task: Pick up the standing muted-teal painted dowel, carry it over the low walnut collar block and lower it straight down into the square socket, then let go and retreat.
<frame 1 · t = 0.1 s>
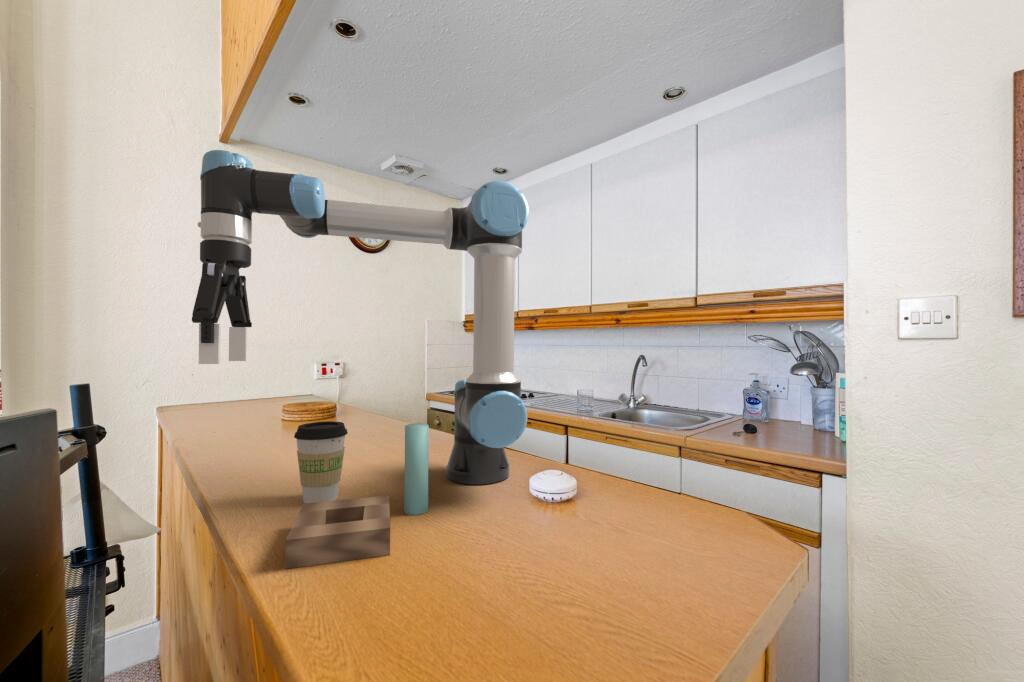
hand: (224, 362, 74), 28 cm above the worktop, fingers open, 13 cm apart
coffee cup: (320, 500, 84), on the worktop
peg: (416, 510, 79), on the worktop
socket block: (343, 539, 67), on the worktop
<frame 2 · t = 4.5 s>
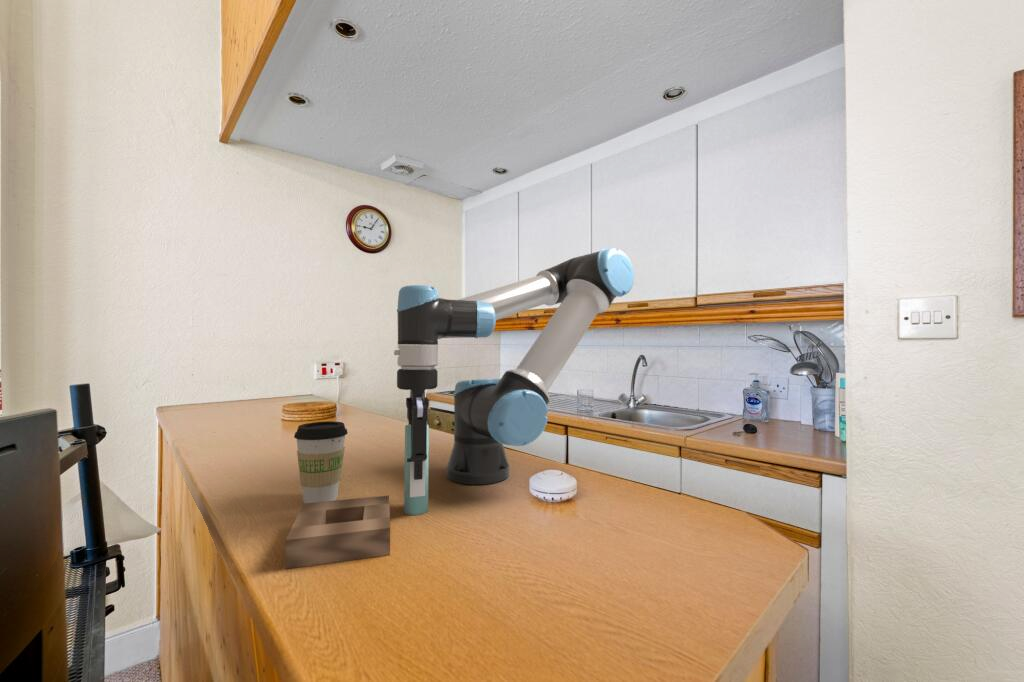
hand: (416, 490, 79), 4 cm above the worktop, fingers closed on peg, 4 cm apart
peg: (416, 510, 79), on the worktop, touching gripper
everything else where it was.
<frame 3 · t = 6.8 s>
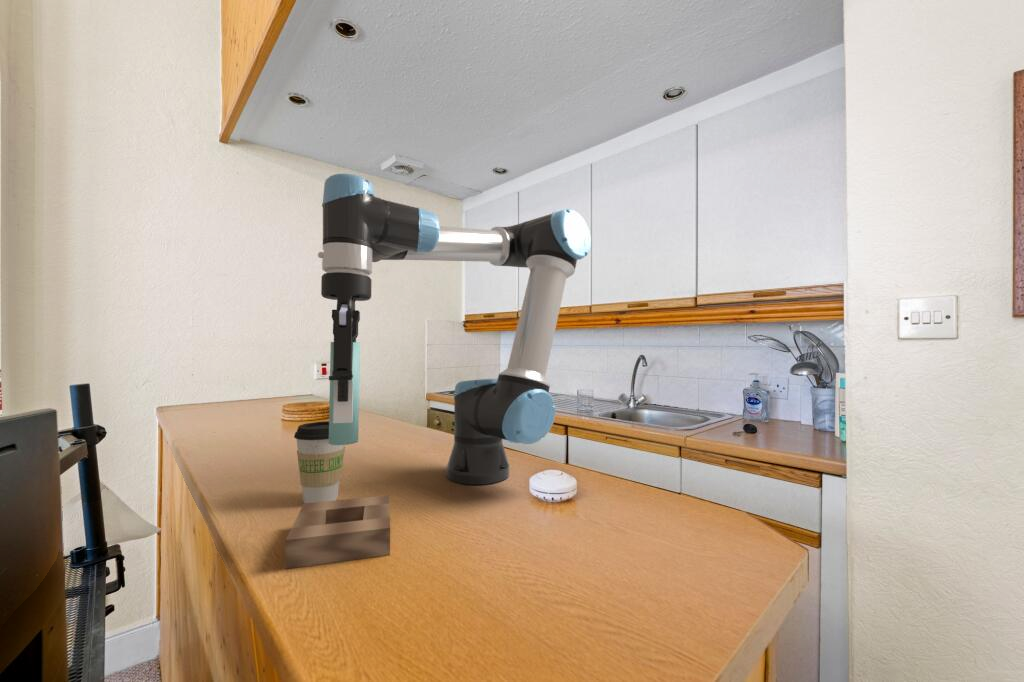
hand: (344, 419, 67), 19 cm above the worktop, fingers closed on peg, 4 cm apart
peg: (343, 442, 67), point 16 cm above the worktop, touching gripper
everything else where it was.
when the fingers open (6 cm above the worktop, at t = 9.2 s): peg drops 2 cm, resting in socket block.
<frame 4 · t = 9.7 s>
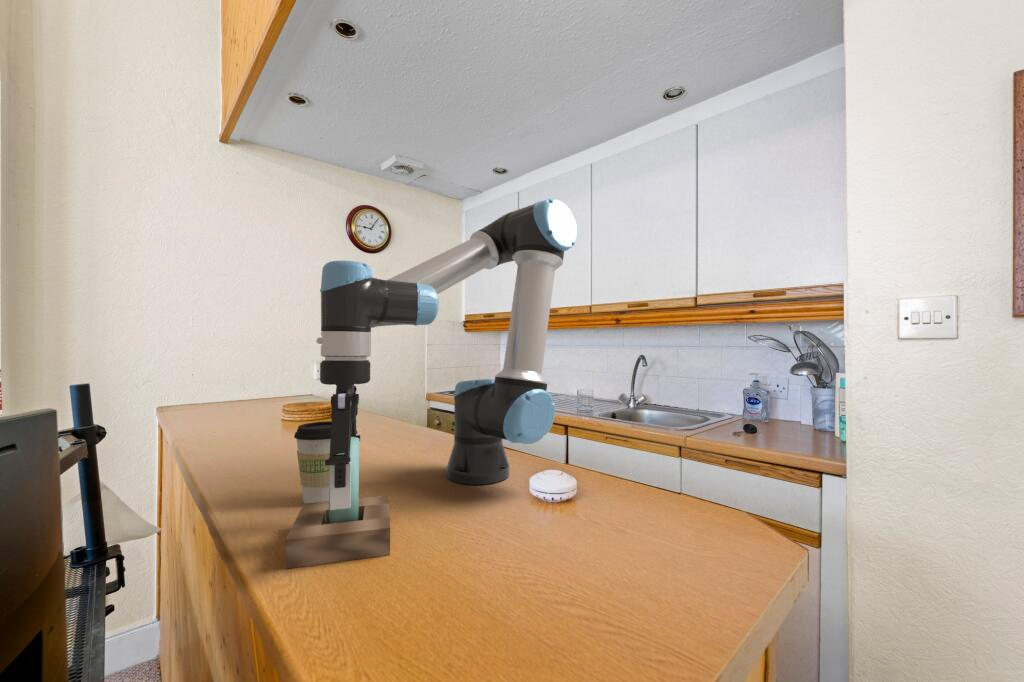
hand: (344, 493, 67), 7 cm above the worktop, fingers open, 12 cm apart
peg: (343, 540, 67), resting in socket block
everything else where it was.
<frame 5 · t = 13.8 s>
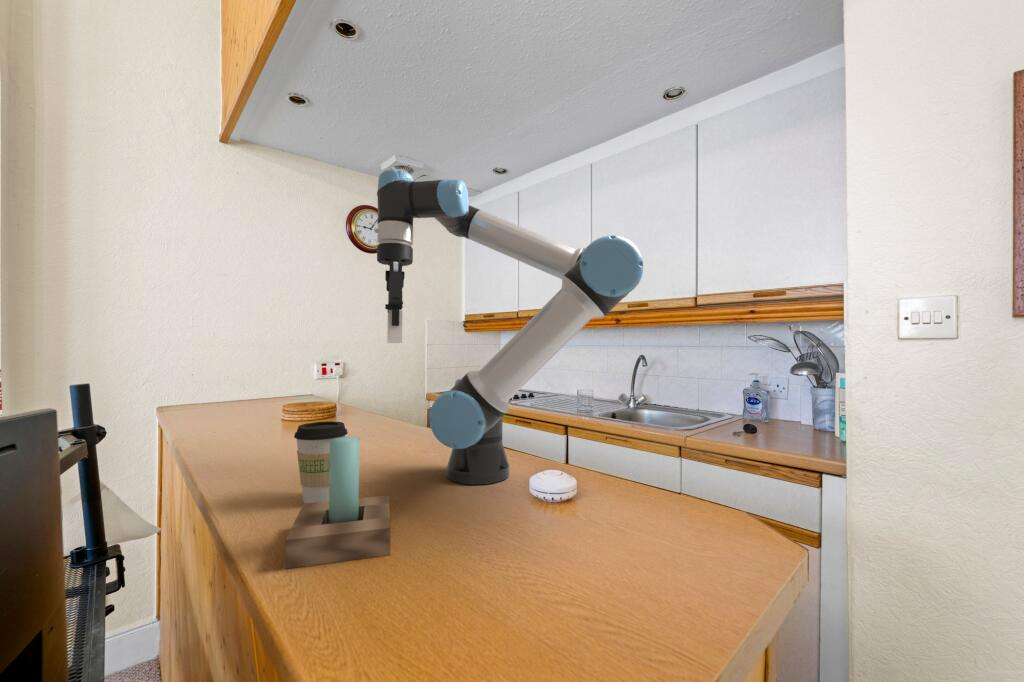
hand: (394, 343, 90), 32 cm above the worktop, fingers open, 13 cm apart
nothing on the worktop moved.
at the end: peg 0.0 cm off-centre on the socket block, point 0.0 cm above the socket block's base; peg tilted 0°; the gripper is holding nothing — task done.
